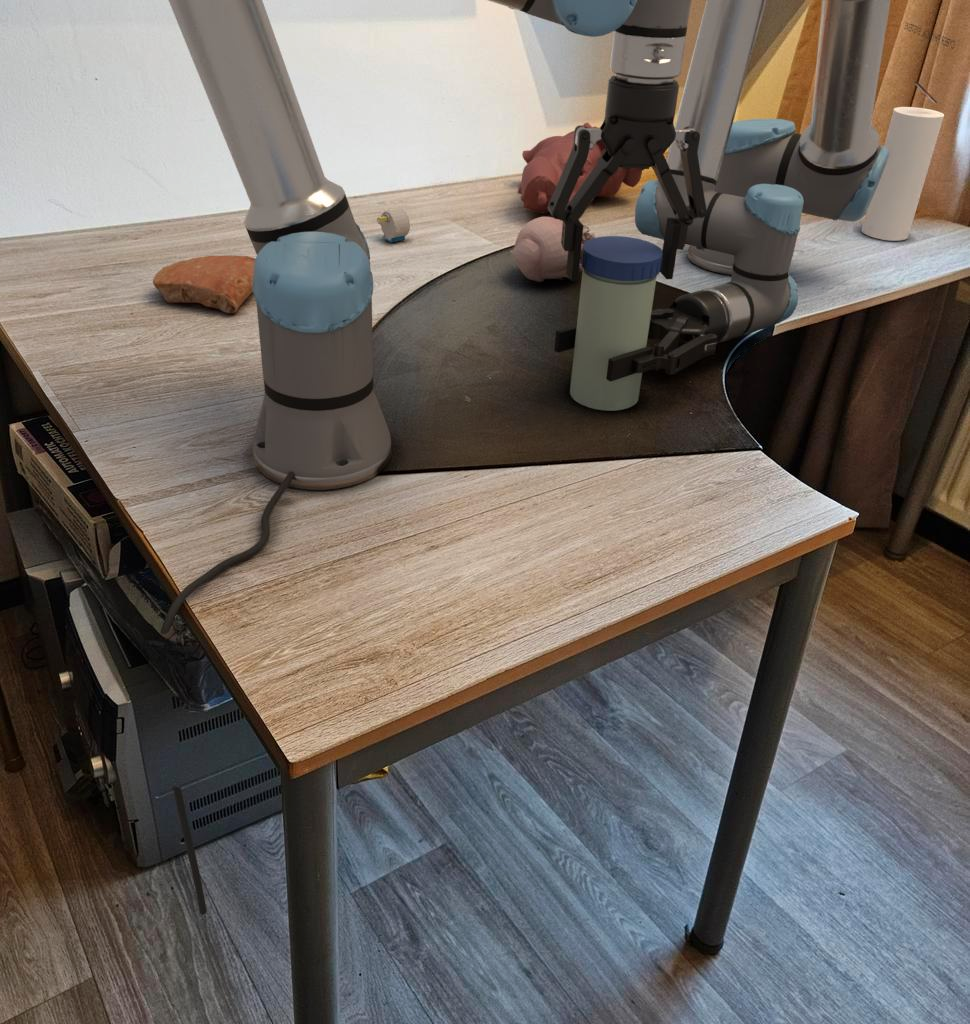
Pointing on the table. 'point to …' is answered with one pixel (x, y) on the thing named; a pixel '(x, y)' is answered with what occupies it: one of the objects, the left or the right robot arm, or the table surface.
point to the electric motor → (394, 225)
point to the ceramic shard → (208, 281)
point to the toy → (544, 249)
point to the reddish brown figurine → (549, 166)
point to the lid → (621, 258)
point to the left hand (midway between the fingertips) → (619, 276)
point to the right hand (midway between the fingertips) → (582, 355)
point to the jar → (609, 339)
